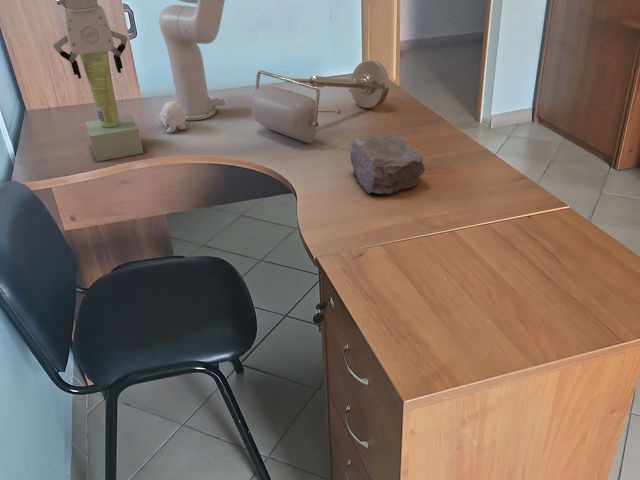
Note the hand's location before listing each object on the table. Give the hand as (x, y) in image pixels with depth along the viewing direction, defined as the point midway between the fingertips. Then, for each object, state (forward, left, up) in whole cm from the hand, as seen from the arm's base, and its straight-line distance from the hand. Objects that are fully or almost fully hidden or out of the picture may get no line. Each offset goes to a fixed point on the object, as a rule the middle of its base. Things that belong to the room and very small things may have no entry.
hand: (99, 74), depth 151 cm
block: (0, 0, -20) cm, 20 cm away
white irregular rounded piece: (-17, -10, -21) cm, 28 cm away
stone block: (-56, +52, -21) cm, 79 cm away
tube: (0, 0, -14) cm, 14 cm away
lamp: (-60, +7, -21) cm, 64 cm away
